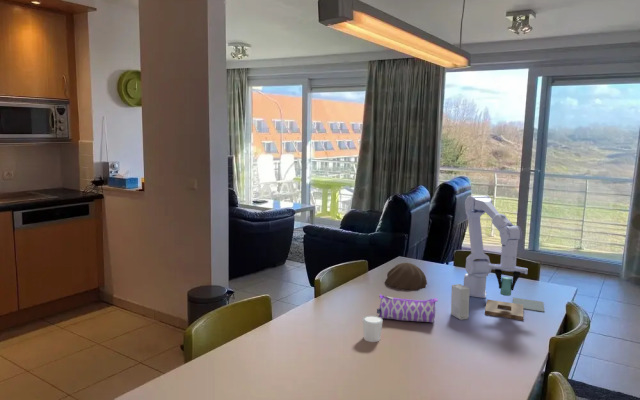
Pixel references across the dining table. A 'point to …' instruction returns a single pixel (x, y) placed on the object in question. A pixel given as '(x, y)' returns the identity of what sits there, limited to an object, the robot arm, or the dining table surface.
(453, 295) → the skincare box
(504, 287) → the peg
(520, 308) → the holder block
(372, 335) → the white cylinder
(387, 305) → the pencil case
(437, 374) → the dining table surface
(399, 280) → the decorative dome
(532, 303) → the slate mat
